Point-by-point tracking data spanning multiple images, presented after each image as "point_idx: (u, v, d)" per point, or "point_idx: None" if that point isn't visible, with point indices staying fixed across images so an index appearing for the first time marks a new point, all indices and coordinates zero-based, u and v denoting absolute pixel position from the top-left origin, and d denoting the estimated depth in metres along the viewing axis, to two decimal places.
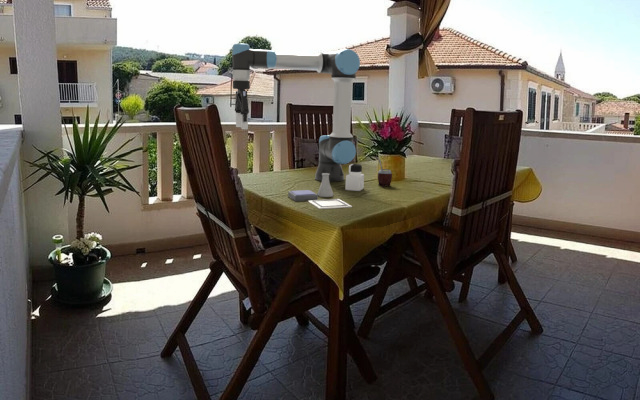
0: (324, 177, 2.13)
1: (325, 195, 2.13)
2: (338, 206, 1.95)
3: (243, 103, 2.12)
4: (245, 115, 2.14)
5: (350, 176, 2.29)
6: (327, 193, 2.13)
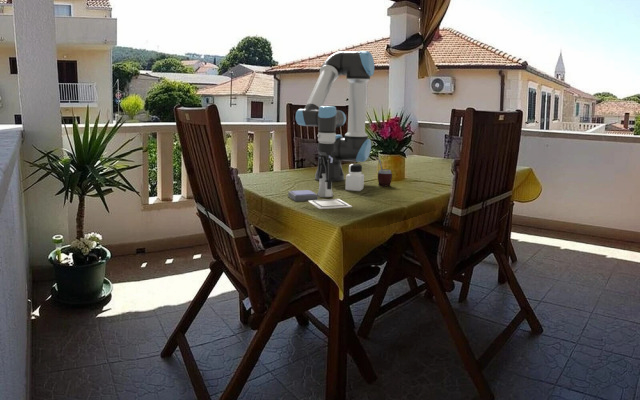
0: (324, 177, 2.13)
1: None
2: (338, 206, 1.95)
3: (329, 171, 2.07)
4: (330, 183, 2.10)
5: (350, 176, 2.29)
6: None
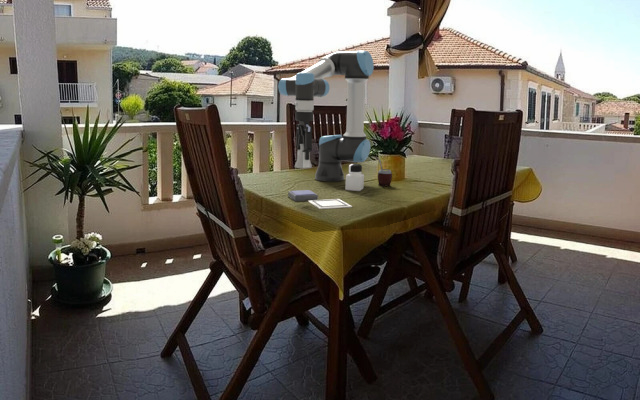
0: (302, 148, 2.05)
1: None
2: (338, 206, 1.95)
3: (307, 140, 1.99)
4: (307, 153, 2.02)
5: (350, 176, 2.29)
6: None
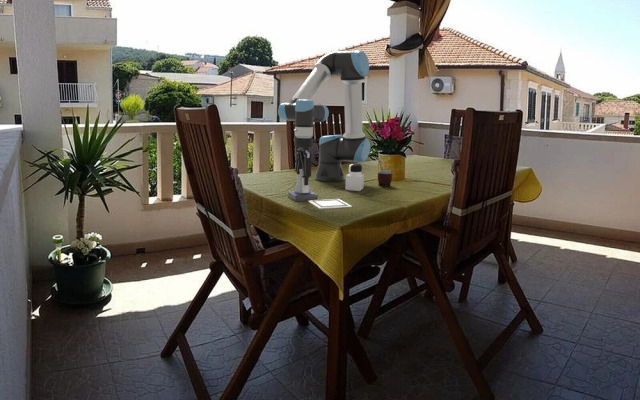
0: (301, 173, 2.07)
1: None
2: (338, 206, 1.95)
3: (306, 166, 2.01)
4: (307, 178, 2.04)
5: (350, 176, 2.29)
6: None
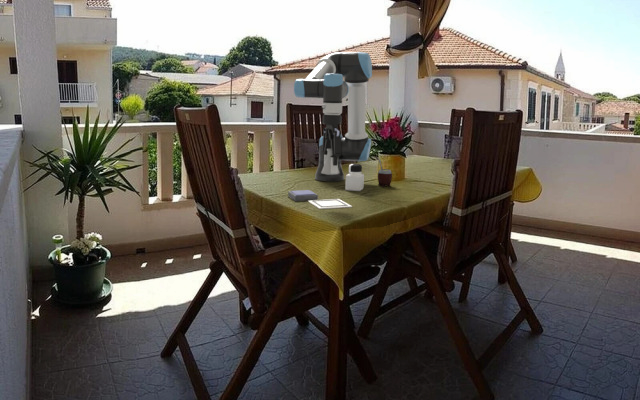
0: (329, 153, 1.95)
1: (330, 172, 1.94)
2: (338, 206, 1.95)
3: (335, 145, 1.89)
4: (336, 158, 1.91)
5: (350, 176, 2.29)
6: None
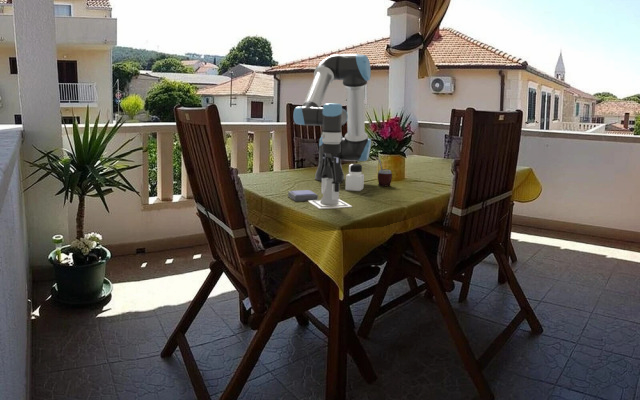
0: (328, 183, 1.97)
1: (329, 202, 1.97)
2: (338, 206, 1.95)
3: (336, 172, 1.89)
4: (337, 185, 1.91)
5: (350, 176, 2.29)
6: (331, 201, 1.97)
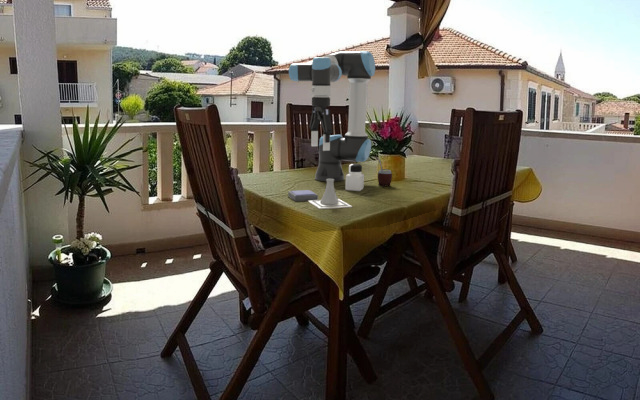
0: (328, 183, 1.97)
1: (329, 202, 1.97)
2: (338, 206, 1.95)
3: (326, 122, 1.95)
4: (328, 135, 1.97)
5: (350, 176, 2.29)
6: (331, 201, 1.97)
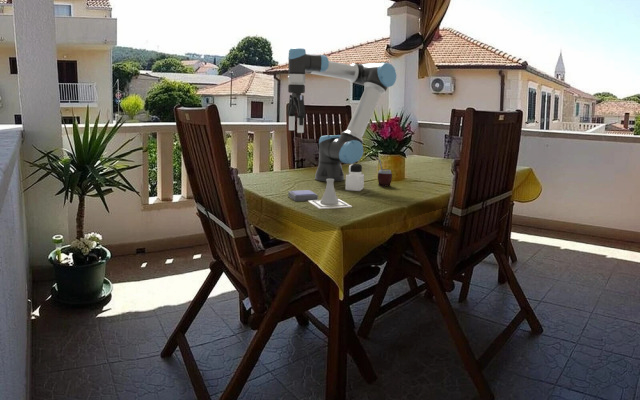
0: (328, 183, 1.97)
1: (329, 202, 1.97)
2: (338, 206, 1.95)
3: (300, 107, 2.15)
4: (301, 119, 2.16)
5: (350, 176, 2.29)
6: (331, 201, 1.97)
